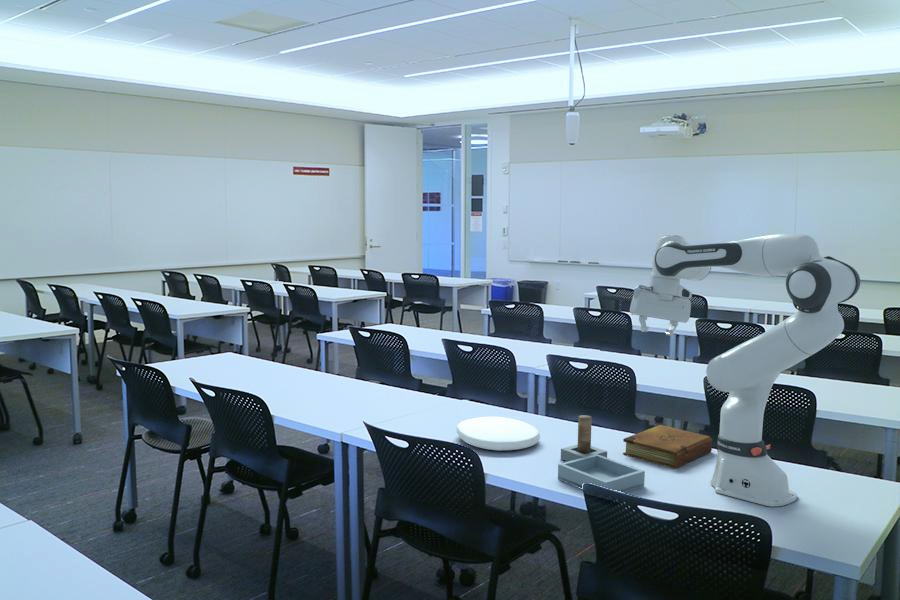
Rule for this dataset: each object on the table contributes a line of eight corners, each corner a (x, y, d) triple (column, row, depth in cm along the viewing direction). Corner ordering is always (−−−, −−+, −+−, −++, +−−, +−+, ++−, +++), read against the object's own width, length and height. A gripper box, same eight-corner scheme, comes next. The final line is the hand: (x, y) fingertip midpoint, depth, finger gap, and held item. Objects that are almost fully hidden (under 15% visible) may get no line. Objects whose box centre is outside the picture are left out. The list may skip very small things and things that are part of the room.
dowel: (592, 461, 227) (594, 417, 225) (583, 464, 224) (585, 419, 223) (583, 458, 230) (584, 414, 228) (574, 460, 228) (575, 416, 226)
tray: (644, 486, 206) (644, 471, 205) (605, 498, 197) (605, 482, 196) (596, 468, 220) (596, 454, 220) (557, 479, 211) (558, 464, 210)
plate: (555, 429, 244) (499, 446, 227) (553, 448, 246) (497, 465, 228) (496, 404, 265) (441, 417, 247) (495, 421, 266) (439, 436, 248)
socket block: (606, 462, 226) (607, 451, 226) (584, 468, 220) (584, 457, 220) (583, 453, 234) (583, 443, 234) (560, 459, 228) (560, 448, 228)
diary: (676, 471, 221) (677, 452, 220) (622, 456, 234) (623, 438, 233) (711, 453, 237) (712, 436, 237) (659, 440, 250) (659, 424, 250)
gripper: (642, 284, 216) (635, 330, 216) (696, 293, 224) (689, 338, 224) (629, 283, 222) (622, 328, 222) (682, 292, 229) (675, 336, 230)
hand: (656, 333), depth 223 cm, fingers open, 8 cm apart
